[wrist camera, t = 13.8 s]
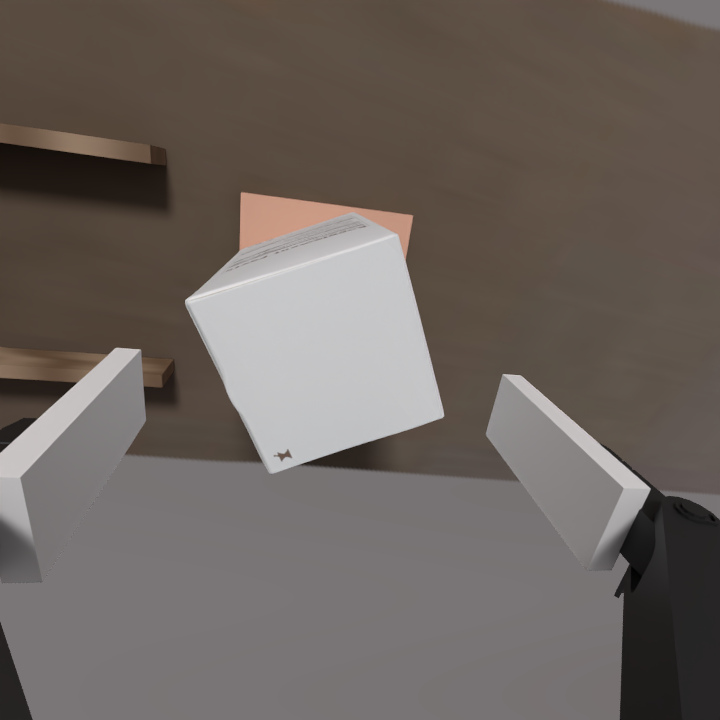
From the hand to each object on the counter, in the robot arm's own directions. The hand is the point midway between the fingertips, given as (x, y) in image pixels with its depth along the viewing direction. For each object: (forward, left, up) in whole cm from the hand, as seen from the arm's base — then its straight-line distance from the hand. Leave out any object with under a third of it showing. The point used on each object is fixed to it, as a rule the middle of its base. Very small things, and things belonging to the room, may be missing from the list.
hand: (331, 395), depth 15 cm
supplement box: (0, 0, -18) cm, 18 cm away
